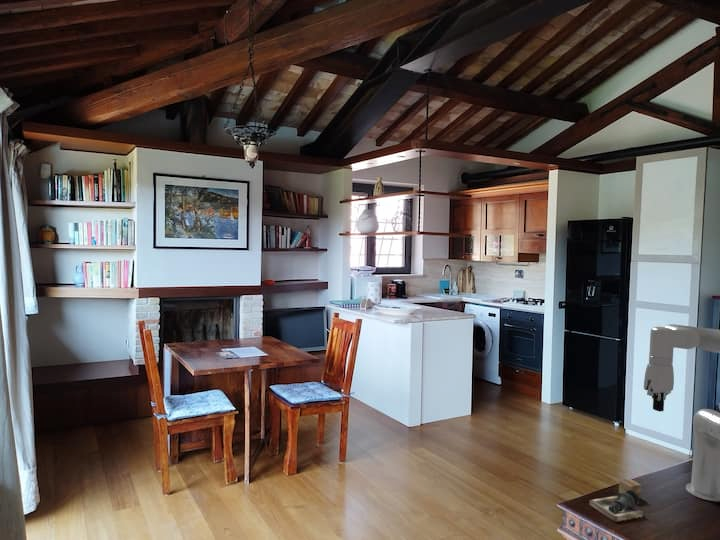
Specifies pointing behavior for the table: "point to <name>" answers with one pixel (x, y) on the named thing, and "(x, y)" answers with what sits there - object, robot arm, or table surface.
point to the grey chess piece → (624, 502)
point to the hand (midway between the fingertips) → (658, 410)
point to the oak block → (629, 486)
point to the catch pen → (603, 507)
